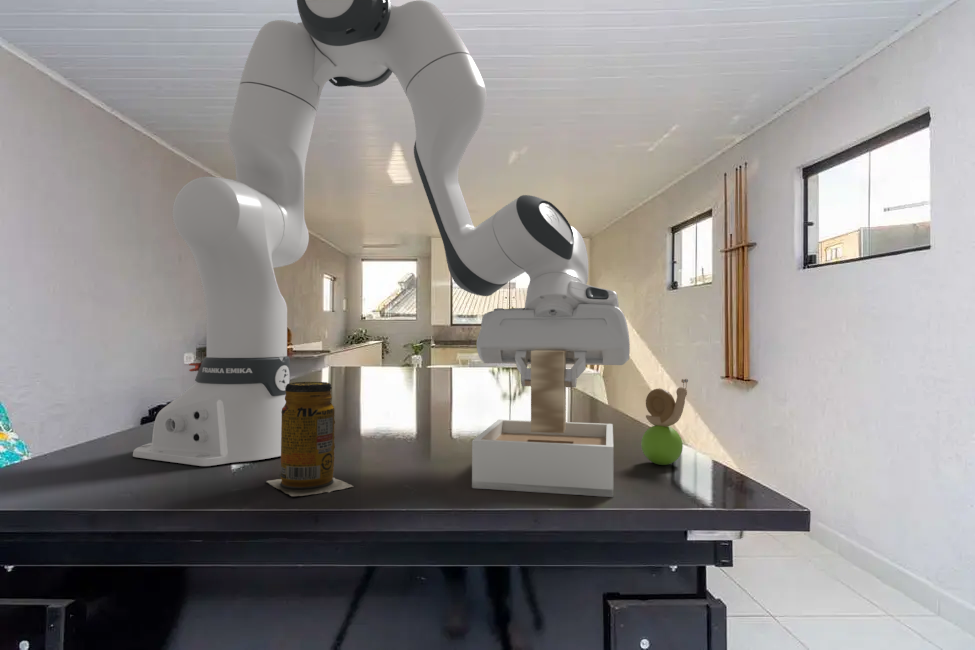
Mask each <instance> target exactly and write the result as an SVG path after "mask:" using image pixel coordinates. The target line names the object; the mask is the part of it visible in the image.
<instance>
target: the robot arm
mask: <svg viewBox="0 0 975 650" xmlns="http://www.w3.org/2000/svg"><path fill="white" fill-rule="evenodd" d="M296 5H297V9H298V14H299V18H300V19H301V20H300V22H294V21H290V20H285V19H275V20H271V21H269V22H266V23H265V24H264V25H263V26H261V28H260V30H259V31H258V33H257V35H256V37H255V39H254V41H253V44H252V46H251V49H250V50H249V53H248V56H247V59H246V61H245V64H244V68H243V71H242V74H241V78H240V81H239V85H238V89H237V94H236V98H235V102H234V106H233V111H232V115H231V119H230V124H229V127H228V133H227V140H228V146H229V149H230V151H231V153H232V156H233V160H234V167H235V179H231V178H225V177H216V176H201V177H197V178H195V179H192V180H190V181H189V182H187V183H186V184H185V185H183V187H182V188H181V189H180V190H179V191H178V193H177V195H176V196H175V199H174V202H173V206H172V220H173V221H172V222H173V225H174V228H175V230H176V231H177V233H178V235H179V236H180V237H181V239H182V240H183V241H184V243H185V244H186V245H187V247H188V249H189V251H190V253H191V255H192V258H193V260H194V263H195V266H196V270H197V273H198V276H199V279H200V283H201V287H202V292H203V296H204V301H205V316H206V318H205V319H206V323H205V325H206V328H205V329H206V330H205V331H206V356H205V357H203V359H202V361H200V362H193V363H189V364H188V365H189V366H194V367H193V368H190V369H189V370H188V371H189V372H197V374H196V376H195V378H194V381H195V383H193V384H192V385H191V386H190V387H189V388H187V389H186V390H185V391H183V392H182V393H181V394H180V395H178V396H177V397H176V398H175V399H173V400H172V401H170V402H169V403H168V404H166V406H164V407H163V408H161V410H159V412H158V413H157V415H156V417H155V419H154V423H153V427H152V428H153V430H152V435H151V436H152V437H151V438H152V440H151V442H148V443H146V444H143V445H140V446H138V447H136V448H135V449H133V451H132V452H133V453H132V457H134V458H140V459H147V460H154V461H162V462H170V463H176V464H177V463H178V464H184V465H191V466H199V467H211V466H217V465H225V464H230V463H239V462H240V463H241V462H252V461H259V460H265V459H271V458H278V457H281V425H282V413H281V411H282V408H283V407H284V405H285V404H286V401H285V396H286V392H285V391H286V390H285V388H286V385H287V384H289V383H291V358H290V357H289V355H288V304H287V302H286V300H285V298H284V297H283V295H282V293H281V291H280V287H279V285H278V282H277V278H276V274H275V270H274V269H275V268H281V267H286V266H290V265H292V264H295V263H296V262H298V261H300V259H301V258H302V257H303V256H304V254H305V252H306V251H307V249H308V245H309V241H310V234H309V230H308V226H307V223H306V219H305V174H306V162H307V156H308V151H309V148H310V143H311V138H312V133H313V129H314V124H315V120H316V118H317V117H316V116H317V112H318V108H319V102H320V99H321V95H322V92H323V89H324V87H325V85H326V83H327V82H329V83H331V84H332V85H333V86H335V87H338V88H339V87H340V88H343V87H358V88H373V87H376V86H378V85H382V84H383V83H385V82H386V81H387V80H388V79H389V78H390V76H391V75H392V73H393V74H394V76H395V77H396V78H397V80H398V82H399V85H401V89H402V90H403V92H404V93H405V96H406V98H407V99H408V101H409V103H410V106H411V111H412V114H413V119H414V125H415V141H414V145H413V155H414V161H415V164H416V167H417V171H418V174H419V177H420V180H421V183H422V186H423V189H424V191H425V195H426V197H427V200H428V203H429V206H430V209H431V211H432V214H433V217H434V220H435V223H436V226H437V228H438V231H439V235H440V237H441V240H442V244H443V248H444V253H445V258H446V264H447V268H448V271H449V273H450V276H451V278H452V280H453V282H454V283H455V284H456V285H457V287H459V288H460V289H462V290H463V291H465V292H467V293H469V294H472V295H476V296H481V297H489V296H491V295H492V296H493V294H494V293H496V292H497V291H499V290H500V289H501V288H503V287H504V286H505V285H507V284H508V283H509V282H510V281H513V280H514V279H515V278H517V277H519V276H520V275H522V274H524V273H526V274H527V275H528V276H529V284H528V285H527V288H526V289H527V290H526V297H525V302H524V307H514V308H512V307H511V308H503V307H502V308H500V307H497V308H494V309H493V310H492V311H491V310H490V311H489V312H486V313H484V314H483V315H482V319H481V324H480V329H479V333H478V336H477V340H476V344H475V345H476V351H477V354H478V357H479V359H480V360H481V361H482V362H483V363H484V364H507V365H509V364H510V365H511V364H513V365H515V364H516V369H517V371H518V372H519V374H520V383H521V387H531V367H529V368H528V365H531V351H534V350H566V365H572V367H571V368H566V369H565V371H564V387H566V388H577V380H578V378H579V377H580V376H581V375H582V374H583V373H584V372H585V371H586V369H587V367H586V366H587V365H588V366H589V365H590V366H593V365H594V366H623V365H625V364H626V363H627V362H628V361H629V360H630V354H631V352H630V348H631V347H630V335H629V328H628V323H627V319H626V316H625V314H624V312H623V311H622V310H621V309H620V306H619V303H620V302H619V298H618V294H617V292H616V291H614V290H611V289H606V288H601V287H598V286H593V285H590V284H588V280H589V256H588V255H589V254H588V251H587V245H586V243H585V240H584V238H583V236H582V234H581V233H580V232H579V231H578V229H576V228H575V227H574V226H572V225H571V223H570V222H569V221H568V219H567V218H566V217H565V215H564V214H563V212H561V211H560V210H559V208H557V207H556V206H555V205H554V204H553V203H552V202H550V201H548V200H545V199H544V198H540V197H539V196H535V195H529V194H523V195H520V196H518V197H517V198H516V199H514V200H512V201H511V202H509V203H508V204H506V205H505V206H503V207H502V208H501V209H499V210H497V211H495V213H494V214H493V215H491V216H490V217H487V219H485V220H484V221H482V222H481V223H479V224H478V225H476V226H475V225H474V223H473V220H472V217H471V214H470V211H469V209H468V206H467V203H466V200H465V198H464V194H463V192H462V188H461V186H460V181H459V169H460V165H461V162H462V159H463V156H464V155H465V152H466V151H467V148H468V147H469V144H470V143H471V141H472V140H473V137H474V136H475V134H476V133H477V131H478V130H479V129H480V126H481V124H482V121H483V119H484V118H485V113H486V109H487V101H488V94H487V88H486V84H485V81H484V78H483V77H482V74H481V72H480V70H479V68H478V66H477V63H476V62H475V60H474V59H473V57H472V55H471V53H470V50H469V49H468V48H467V46H466V44H465V43H464V41H463V39H462V38H461V36H460V34H459V33H458V32H457V30H456V29H455V27H454V26H453V25H452V24H451V22H450V21H449V19H448V17H446V16H445V15H444V14H443V12H442V11H441V10H440V9H439V7H437V6H436V5H435V4H433V3H432V2H429V1H427V0H412V1H408V2H406V3H403V4H402V5H399V6H395V5H392V4H391V0H296Z"/></svg>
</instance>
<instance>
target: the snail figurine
mask: <svg viewBox="0 0 975 650" xmlns="http://www.w3.org/2000/svg"><path fill="white" fill-rule="evenodd" d="M680 381H681V383H682V386H679V387H678V388H677V389H676V391H675V393H676V399H675V398H674V396H673V395H672V394H671V392H669V391H668V390H667V389H664V388H655V389H652V390H651V391H650V392H648V394H647V395H646V399H645V408H646V410H647V412H648V413H649V414H650V415H649V414H645V418H646V420H647V421H648V422H649V423H650V425H652V426H650V427H649V428H648V429H646V431H645V432H644V433H643V435H642V438H641V443H640V444H641V445H640V446H641V451H642V453H643V455H644V456H645V457H646V458H647V460H648V461H650V462H652V463H654V464H655V465H660V466H668V465H671V464H673V463H674V462H676V461H677V460H678V459H679V458H680V456H681V454H682V453H683V440H682V437H681V436H680V434H679V433H678V431H677V430H676V429H675V428H673V427H671V426H673V425H675V424H676V423H678V422H679V421H680V419H681V417H682V414H683V411H684V407H685V402H686V397H687V396H688V389H687V384H688V382H689V380H688V379H687V378H682V379H681V380H680Z"/></svg>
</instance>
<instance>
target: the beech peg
mask: <svg viewBox="0 0 975 650" xmlns="http://www.w3.org/2000/svg"><path fill="white" fill-rule="evenodd" d="M530 368H531V386H530V421H531V432H547V433H564V431H565V429H566V422H567V412H566V411H567V391H566V390H567V387H564V371H565V369H567V364H566V350H534V351H531V364H530Z"/></svg>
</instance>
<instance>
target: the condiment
mask: <svg viewBox="0 0 975 650" xmlns="http://www.w3.org/2000/svg"><path fill="white" fill-rule="evenodd" d="M285 390H286V391H285V392H286V396H285V401H286V404H285V405H284V407H283V408H282V411H281V413H282V425H281V456H280V478H276V479H271V480H270V479H269V480H266V483H267V484H269V485H270V486H271V487H273V488H276V489H278V490H279V491H281V492H283V494H286V495H289V496H290V497H303V496H310V495H317V494H322V493H331V492H333V491H338V490H339V491H340V490H345V489H348V488H354V485H352V484H349V483H348V482H345V481H343V480H341V479H338V478H336V477H334V467H335V448H336V445H335V444H336V443H335V439H336V438H335V424H336V421H335V407H334V405H333V403H332V397H333V396H332V384H331V383H330V382H326V381H293V382H290V383H289V384H287V385H286V388H285Z"/></svg>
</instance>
